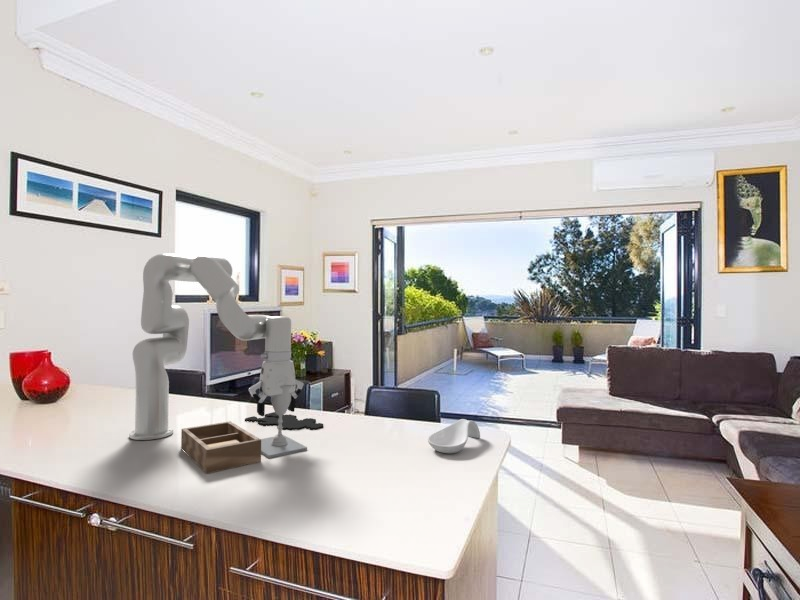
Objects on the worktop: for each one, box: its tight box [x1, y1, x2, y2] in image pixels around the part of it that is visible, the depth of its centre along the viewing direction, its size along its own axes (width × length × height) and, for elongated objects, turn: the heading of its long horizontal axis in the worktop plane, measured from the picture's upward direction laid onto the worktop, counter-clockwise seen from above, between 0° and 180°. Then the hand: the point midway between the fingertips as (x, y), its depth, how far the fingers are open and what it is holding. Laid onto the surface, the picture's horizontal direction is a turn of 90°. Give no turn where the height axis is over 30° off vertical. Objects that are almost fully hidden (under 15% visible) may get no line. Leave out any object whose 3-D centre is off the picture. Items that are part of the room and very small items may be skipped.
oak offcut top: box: [207, 440, 240, 448], centre depth 127 cm, size 8×9×2 cm
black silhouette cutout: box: [244, 411, 324, 431], centre depth 167 cm, size 16×1×30 cm
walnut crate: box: [180, 420, 262, 474], centre depth 131 cm, size 24×14×6 cm, turn 40°
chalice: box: [270, 386, 292, 446], centre depth 140 cm, size 7×7×18 cm
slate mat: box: [260, 435, 308, 459], centre depth 139 cm, size 16×12×1 cm
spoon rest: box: [427, 418, 481, 455], centre depth 143 cm, size 24×12×7 cm, turn 145°
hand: (276, 413), depth 139 cm, fingers open, 9 cm apart
